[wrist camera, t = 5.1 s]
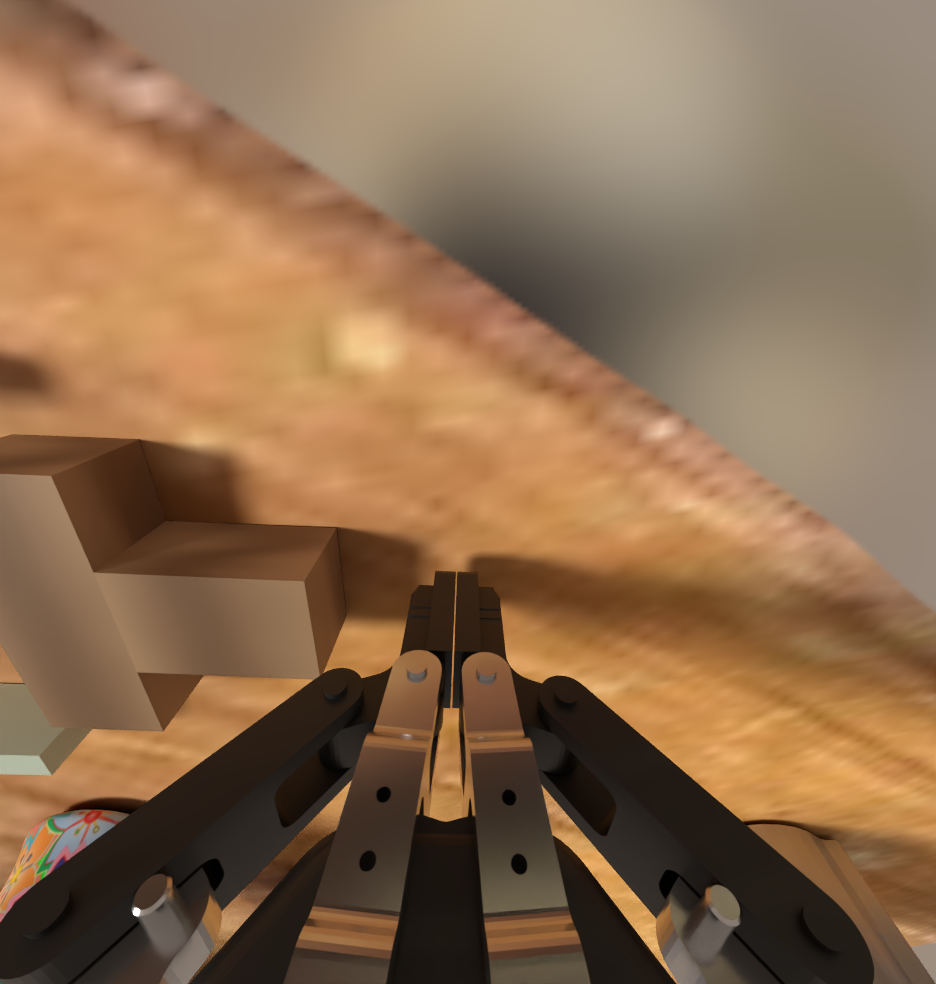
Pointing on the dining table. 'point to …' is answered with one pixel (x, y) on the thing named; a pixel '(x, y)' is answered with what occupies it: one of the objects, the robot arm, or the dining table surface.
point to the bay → (31, 735)
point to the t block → (146, 588)
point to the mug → (54, 848)
